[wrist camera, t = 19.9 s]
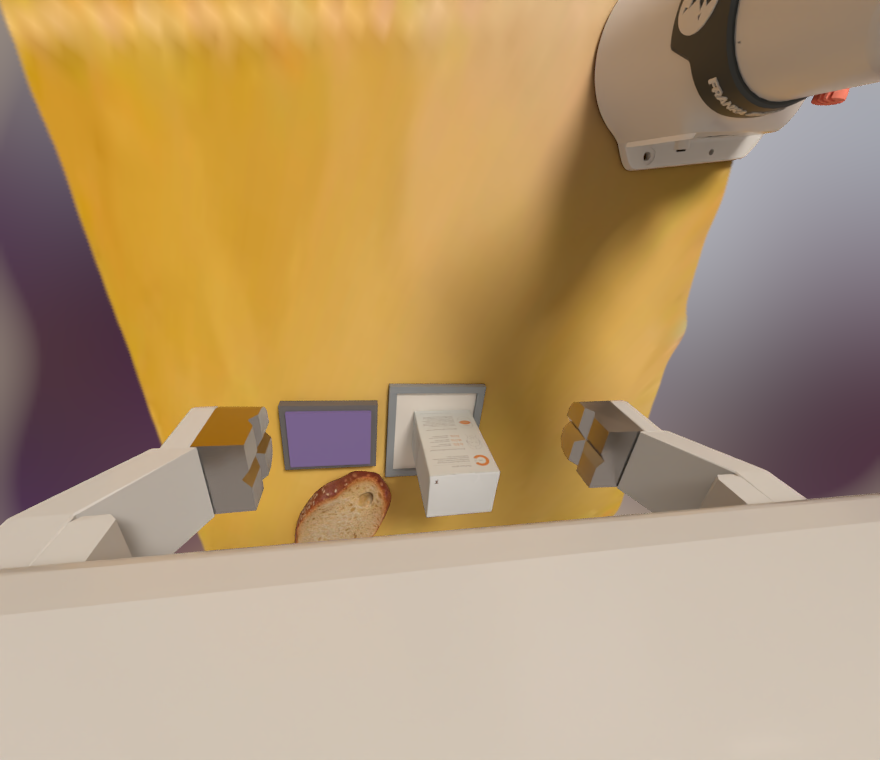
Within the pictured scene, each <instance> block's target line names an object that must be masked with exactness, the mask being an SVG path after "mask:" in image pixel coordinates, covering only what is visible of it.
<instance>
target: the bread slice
mask: <svg viewBox="0 0 880 760" xmlns="http://www.w3.org/2000/svg"><path fill="white" fill-rule="evenodd" d="M390 502H391V494H390V490H389V488H388V486H387V484H386V483H385V481H384V480H383V479H382V478H381V476H380V475H379V474H377V473H374V472H366V471H353V472H351V473H349V474H347V475H346V476H344V477H342V478H340V479H338V480H335V481H332V482H329V483H327V484H326V485H324V486H323V487H321V488H320V489H319V490H318V491H317V492H315V493H314V495H313V496H312V497H311V498H310V499H309V501H308V503H307V504H306V505H305V507H304V509H303V510H302V512H301V513H300V516H299V519H298V522H297V527H296V533H295V543H306V542H318V541H329V540H341V539H353V538H364V537H373V536H374V534H375V533H376V532H377V530H378V528H379V526H380V525H381V523H382V521H383V519H384V517H385V515H386V513H387V510H388V508H389V505H390Z"/></svg>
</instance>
